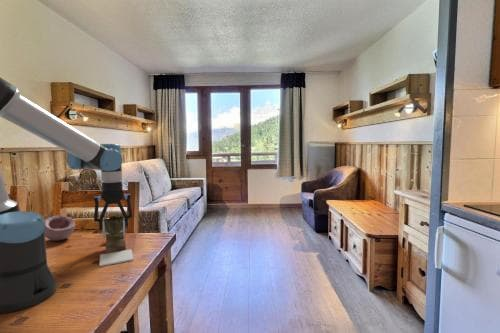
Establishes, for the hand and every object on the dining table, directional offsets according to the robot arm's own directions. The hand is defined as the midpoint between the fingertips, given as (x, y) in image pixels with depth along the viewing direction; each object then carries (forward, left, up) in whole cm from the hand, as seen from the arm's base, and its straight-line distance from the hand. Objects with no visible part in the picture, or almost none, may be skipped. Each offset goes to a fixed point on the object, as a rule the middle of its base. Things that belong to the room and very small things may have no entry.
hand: (114, 235), depth 113 cm
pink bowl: (+20, +22, -5) cm, 30 cm away
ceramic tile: (-14, 0, -4) cm, 15 cm away
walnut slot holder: (0, 0, -4) cm, 4 cm away
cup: (0, 0, -1) cm, 1 cm away
